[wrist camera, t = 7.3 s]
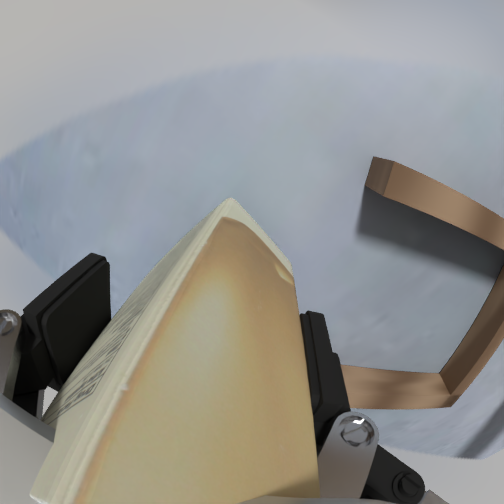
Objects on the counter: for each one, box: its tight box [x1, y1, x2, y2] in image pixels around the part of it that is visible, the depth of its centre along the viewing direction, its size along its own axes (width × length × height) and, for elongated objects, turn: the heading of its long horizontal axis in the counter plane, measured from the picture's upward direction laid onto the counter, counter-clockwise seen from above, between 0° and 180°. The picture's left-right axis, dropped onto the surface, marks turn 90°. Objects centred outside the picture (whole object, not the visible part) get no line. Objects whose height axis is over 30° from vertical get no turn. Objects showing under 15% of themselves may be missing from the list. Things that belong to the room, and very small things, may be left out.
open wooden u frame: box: [341, 156, 504, 409], centre depth 14 cm, size 14×14×2 cm
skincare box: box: [30, 198, 320, 504], centre depth 8 cm, size 6×4×12 cm
